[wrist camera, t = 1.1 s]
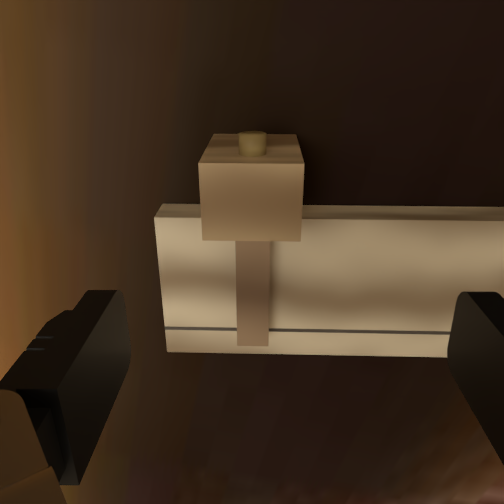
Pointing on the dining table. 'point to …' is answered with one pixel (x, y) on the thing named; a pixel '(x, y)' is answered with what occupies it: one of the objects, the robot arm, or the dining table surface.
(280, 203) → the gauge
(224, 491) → the dining table surface
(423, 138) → the dining table surface
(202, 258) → the board
